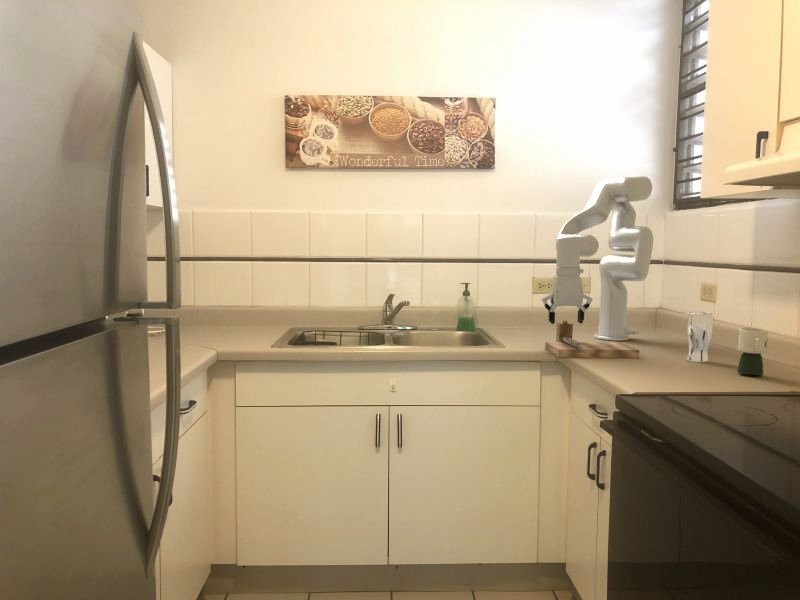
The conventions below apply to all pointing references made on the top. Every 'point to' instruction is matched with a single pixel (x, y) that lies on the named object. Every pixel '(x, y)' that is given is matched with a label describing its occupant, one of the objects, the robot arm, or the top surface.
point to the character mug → (752, 350)
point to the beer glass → (699, 336)
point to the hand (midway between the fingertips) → (566, 323)
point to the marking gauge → (566, 334)
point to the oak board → (592, 350)
